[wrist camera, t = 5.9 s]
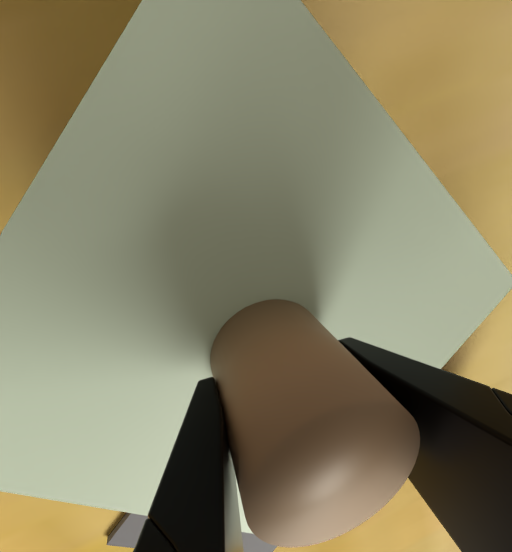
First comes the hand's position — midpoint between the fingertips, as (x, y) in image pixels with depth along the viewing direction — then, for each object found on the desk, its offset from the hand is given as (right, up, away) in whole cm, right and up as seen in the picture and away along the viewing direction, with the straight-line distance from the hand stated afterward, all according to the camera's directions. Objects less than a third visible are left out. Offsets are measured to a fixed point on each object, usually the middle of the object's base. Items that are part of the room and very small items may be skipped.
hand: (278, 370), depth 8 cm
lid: (0, +1, +1) cm, 2 cm away
